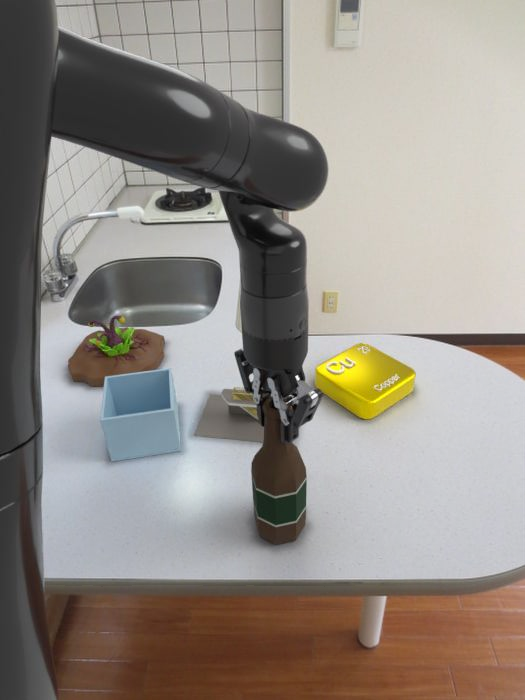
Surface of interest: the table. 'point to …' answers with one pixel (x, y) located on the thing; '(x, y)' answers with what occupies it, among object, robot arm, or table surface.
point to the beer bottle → (278, 483)
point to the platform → (231, 417)
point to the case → (140, 414)
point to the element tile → (364, 380)
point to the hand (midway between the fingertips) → (277, 431)
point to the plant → (115, 353)
